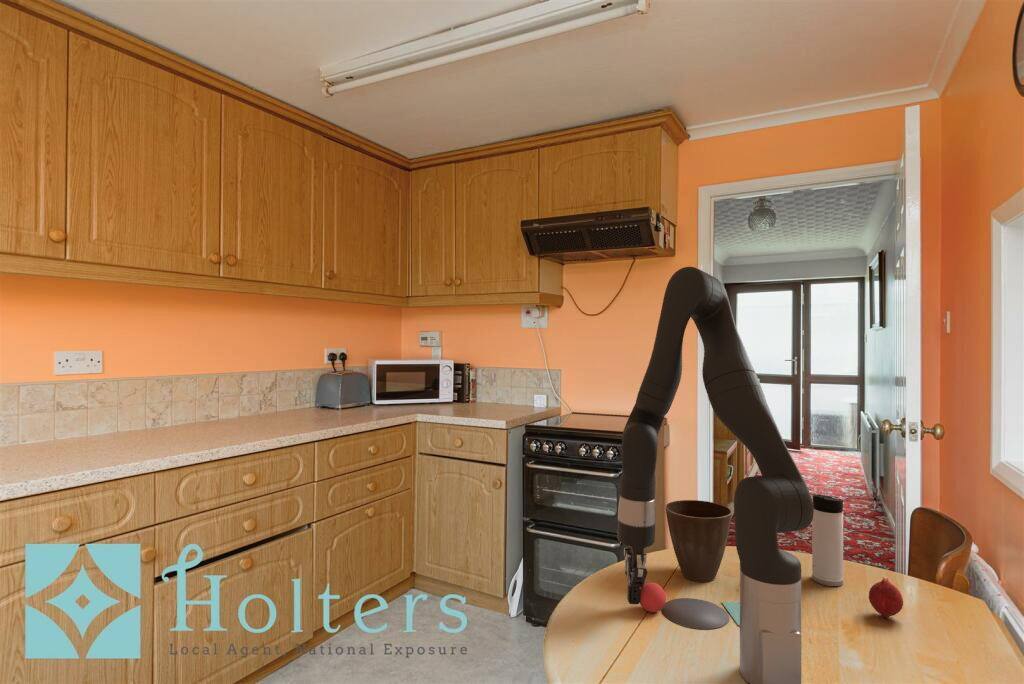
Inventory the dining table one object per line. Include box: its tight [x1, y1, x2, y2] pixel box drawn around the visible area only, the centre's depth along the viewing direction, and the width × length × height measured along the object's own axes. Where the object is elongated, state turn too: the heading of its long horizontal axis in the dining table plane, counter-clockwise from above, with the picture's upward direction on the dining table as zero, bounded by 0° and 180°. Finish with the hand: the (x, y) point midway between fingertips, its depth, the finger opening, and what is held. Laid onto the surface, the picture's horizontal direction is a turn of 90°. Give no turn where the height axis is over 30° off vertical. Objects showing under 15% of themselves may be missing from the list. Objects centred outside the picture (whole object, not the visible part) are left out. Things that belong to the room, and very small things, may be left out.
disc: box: [661, 597, 730, 630], centre depth 116 cm, size 13×13×1 cm
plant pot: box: [664, 499, 733, 583], centre depth 135 cm, size 15×15×16 cm
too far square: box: [721, 601, 740, 627], centre depth 116 cm, size 10×10×1 cm
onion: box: [868, 576, 904, 618], centre depth 115 cm, size 6×6×8 cm
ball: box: [639, 582, 667, 613], centre depth 117 cm, size 6×6×6 cm
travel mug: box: [811, 493, 844, 587], centre depth 132 cm, size 6×7×20 cm
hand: (633, 602), depth 117 cm, fingers closed
